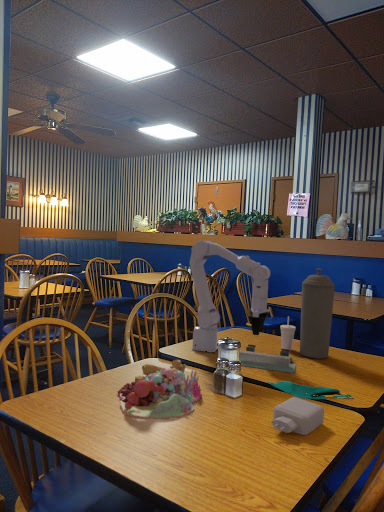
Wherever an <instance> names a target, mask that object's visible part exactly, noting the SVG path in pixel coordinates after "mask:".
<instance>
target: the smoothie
mask: <svg viewBox="0 0 384 512" xmlns="http://www.w3.org/2000/svg"><path fill="white" fill-rule="evenodd" d="M289 324H290V316H289V315H288V316H287V324H282V325H280V326H279V327H280V334H281V335H280V336H281V349H289V351H288V352H290V351H292V347H293V342H294V336H295V331H296V330H297V329H296V326H294V325H291V324H290V325H289Z"/></svg>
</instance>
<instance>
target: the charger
mask: <svg viewBox="0 0 384 512" xmlns="http://www.w3.org/2000/svg"><path fill="white" fill-rule="evenodd" d="M324 417H325V408H324V407H323V406H322V405H320V404H318V403H314V402H312V401H308V400H305V399H302V398H298V397H296V396H292V397H290V398H289V399H287V400H286V401H284V402H282V403H280V404H277V405H276V406H274V408H273V419H272V421H271V424H272V426H273V429H277V430H279V431H281V432H284V433H291V432H294V433H296V434H299V435H302V436H307V435H309V434H310V433H312V432H313V431H315V430H316V429H317V428H318V427H319V426H321V425H322V424H323V423H324V421H325V418H324Z"/></svg>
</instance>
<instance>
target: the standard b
mask: <svg viewBox="0 0 384 512" xmlns="http://www.w3.org/2000/svg"><path fill="white" fill-rule="evenodd" d="M279 353H280V356H287V357H290V351H289V349H282V348H281V351H280V352H279ZM292 359H293V358H292V357H290V364H291V362H292Z"/></svg>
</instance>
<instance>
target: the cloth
mask: <svg viewBox="0 0 384 512" xmlns="http://www.w3.org/2000/svg"><path fill="white" fill-rule="evenodd" d="M266 383H267V384H269V385H271V386H272V387H274V388H277V389H278V390H281V391H283V392H284V393H287V394H290V395H292V396H293V397H296V398H299V399H302V400H305V399H309V400H320V399H321V400H331V399H330V398H337V397H348V396H349V397H353V396H352V395H351V394H341V395H342V396H333V397H325V396H320V395H326V394H333V393H335V394H338V393H337V392H341V390H339V389H338V388H333V387H325V386H309V385H305V384H298V383H294V382H292V381H289V380H288V381H287V380H280V381H278V382H276V383H275V382H272V381H267V382H266ZM306 393H307V394H306ZM315 394H316V395H315ZM313 395H315V396H313ZM317 395H318V396H317ZM328 398H329V399H328Z"/></svg>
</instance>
